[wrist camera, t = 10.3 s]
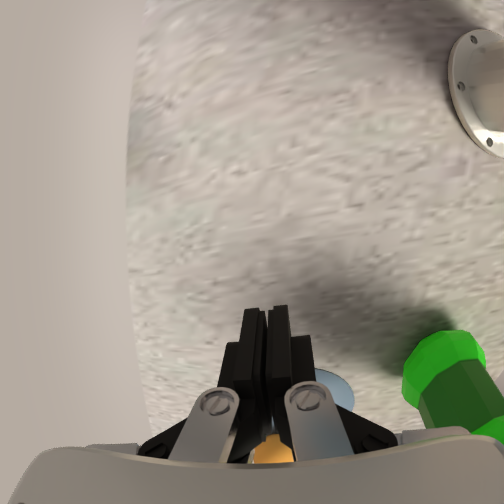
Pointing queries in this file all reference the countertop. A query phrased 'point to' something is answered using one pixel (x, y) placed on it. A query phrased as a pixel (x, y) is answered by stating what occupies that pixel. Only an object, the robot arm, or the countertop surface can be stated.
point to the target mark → (333, 391)
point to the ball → (272, 451)
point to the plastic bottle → (453, 385)
